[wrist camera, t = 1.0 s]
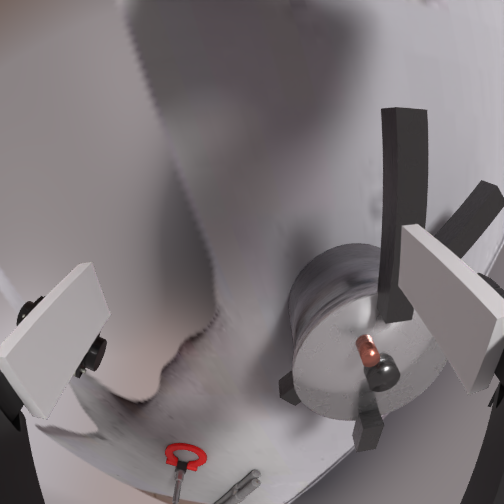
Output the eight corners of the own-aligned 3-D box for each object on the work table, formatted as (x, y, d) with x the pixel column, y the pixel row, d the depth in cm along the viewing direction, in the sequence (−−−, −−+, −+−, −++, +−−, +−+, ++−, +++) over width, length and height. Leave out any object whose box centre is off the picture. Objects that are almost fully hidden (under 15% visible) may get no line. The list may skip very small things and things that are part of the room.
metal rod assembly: (221, 504, 65) (220, 519, 60) (211, 502, 65) (210, 517, 60) (263, 468, 56) (263, 487, 51) (251, 466, 56) (250, 485, 51)
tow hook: (169, 436, 53) (162, 458, 55) (158, 490, 40) (151, 506, 43) (211, 448, 54) (200, 468, 56) (206, 501, 41) (194, 517, 44)
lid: (420, 414, 33) (429, 436, 30) (292, 436, 34) (294, 461, 31) (475, 118, 20) (502, 121, 17) (278, 110, 21) (283, 106, 18)
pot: (265, 176, 34) (268, 198, 24) (469, 172, 33) (525, 193, 23) (277, 365, 44) (281, 424, 34) (441, 342, 43) (472, 388, 32)
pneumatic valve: (118, 333, 43) (86, 389, 31) (52, 300, 41) (9, 346, 30) (125, 303, 41) (89, 360, 29) (54, 270, 39) (6, 314, 28)
